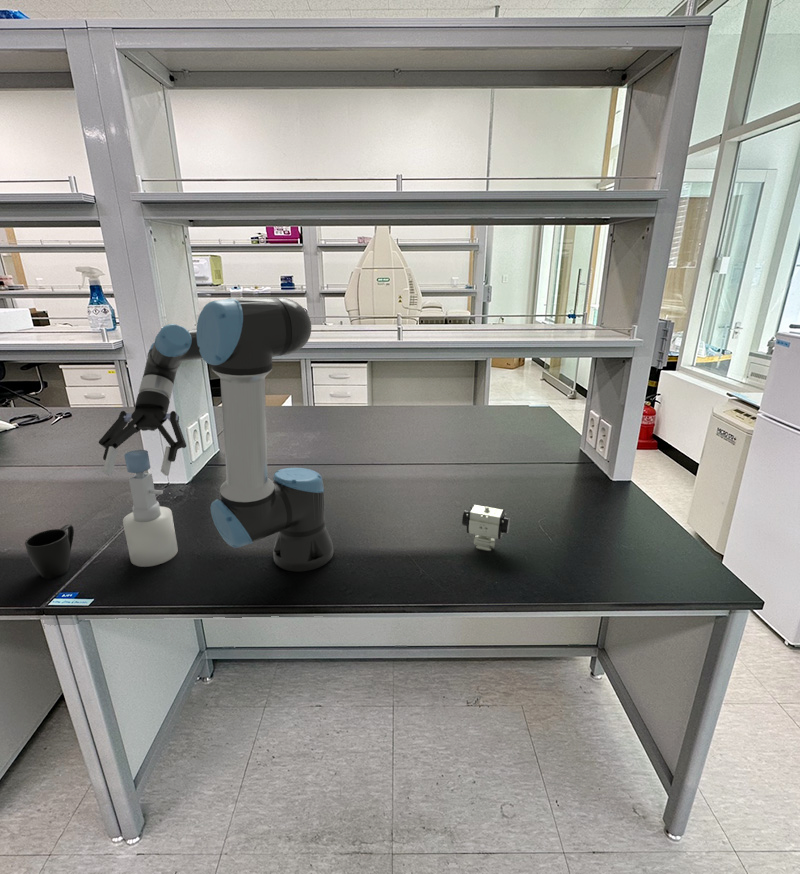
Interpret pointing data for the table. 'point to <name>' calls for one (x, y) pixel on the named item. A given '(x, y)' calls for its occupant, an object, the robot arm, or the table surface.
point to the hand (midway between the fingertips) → (135, 473)
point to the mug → (51, 551)
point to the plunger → (137, 462)
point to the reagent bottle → (149, 525)
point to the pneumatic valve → (485, 525)
